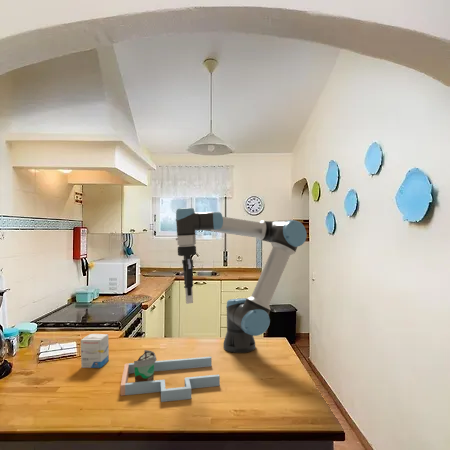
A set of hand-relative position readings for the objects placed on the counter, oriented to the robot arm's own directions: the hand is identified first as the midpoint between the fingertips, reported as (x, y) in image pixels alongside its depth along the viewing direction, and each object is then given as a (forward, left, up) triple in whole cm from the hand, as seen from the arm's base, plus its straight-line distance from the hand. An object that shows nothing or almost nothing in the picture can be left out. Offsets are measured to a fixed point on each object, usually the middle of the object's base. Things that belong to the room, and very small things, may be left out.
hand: (189, 302), depth 149 cm
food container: (+17, +11, -27) cm, 33 cm away
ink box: (+39, -12, -27) cm, 49 cm away
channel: (+9, +14, -26) cm, 31 cm away
